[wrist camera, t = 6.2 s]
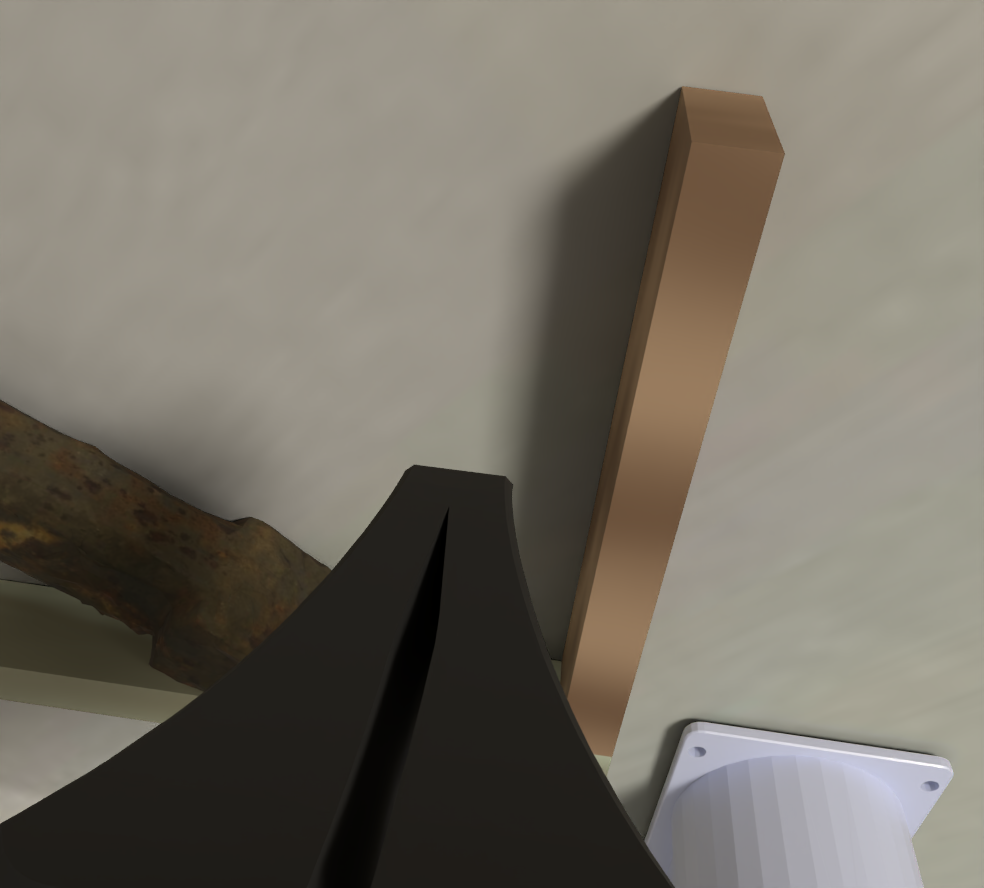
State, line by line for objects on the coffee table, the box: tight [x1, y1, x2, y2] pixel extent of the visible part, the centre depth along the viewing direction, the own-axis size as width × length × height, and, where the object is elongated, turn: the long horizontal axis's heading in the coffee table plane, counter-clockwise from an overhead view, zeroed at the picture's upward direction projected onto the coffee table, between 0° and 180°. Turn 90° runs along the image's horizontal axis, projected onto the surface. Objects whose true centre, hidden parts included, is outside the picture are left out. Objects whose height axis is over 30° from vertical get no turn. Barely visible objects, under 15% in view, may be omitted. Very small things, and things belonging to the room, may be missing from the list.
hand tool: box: [0, 400, 331, 692], centre depth 24 cm, size 19×4×5 cm, turn 53°
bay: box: [0, 86, 785, 776], centre depth 22 cm, size 18×25×3 cm
